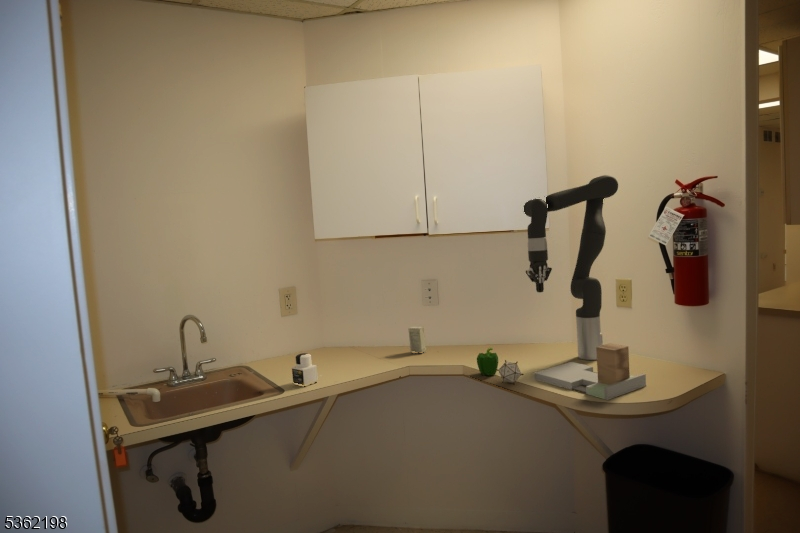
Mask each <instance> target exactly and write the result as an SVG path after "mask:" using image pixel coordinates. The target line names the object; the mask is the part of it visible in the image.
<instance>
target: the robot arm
mask: <svg viewBox="0 0 800 533" xmlns="http://www.w3.org/2000/svg"><path fill="white" fill-rule="evenodd" d="M618 188H619V182H618V180H617V179H616V178H615V177H614V176H612V175H609V174H604V175H600V176H597V177H594V178H592V179H590V181H589V182H588V183H586V184H584V185H580V186H575V187H571V188H568V189H563V190H560V191H557V192H553V193H550V194H548V195H546V196H547V197H546V202H545V201H544V200H542V199H536V198H533V200H532V199H530V200H527V201H528V202H527V201H526V202H525V203H524V204H525V205H523V207H524V211H523V213H524V212H525V213H524V214H526V215H525V216H526V217H530V223H529V224H528V225H527V229H526V230H527V256H528V258H527V259H528V261H529V269H528V270H525V273H526V275H527V277H528V279H529V280H530V281H531V282H532V283H534V284H535V291H536V292H537V293H543V292H544V289H545V288H544V283H545V282H546V281H548V279H549V277H550V274H551V273H552V271H553V268H552V267H549V266H548V262H547V261H548V260H549V254H548V240H547V234H546V233H547V231H546V227H547V226H546V225H547V221H548V220H547V219H548V213H549V212H550V213H551V212H557V211H560V210H563V209H567V208H569V207H572V206H574V205H577V204H580V203H582V202H585V212H584V218H583V224H582V229H581V235H580V240H579V249H578V254H577V259H576V263H575V268H574V271H573V273H572V274H573V275H572V278H571V282H570V294H571V295H572V296H573V297H574V299H577V300H579V299H580V300H582V306H581V307H578V308H577V309H576V310H575V320H576V322H575V323H576V325H575V326H576V343H577V357H578V359H581V360H587V361H588V360H589V361H595V360H596V361H597V351H596V347H598V346H601V345H604V343H603V333H601V310H602V298H603V297H602V284H601V282H600V281H599V279H597V278H595V277H590V272H591V269H592V265H593V264H594V262H595V261H596V259H598V257H599V255H600V253H602V251H603V248H604V246H605V241H606V233H607V232H606V231H607V230H606V225H605V224H606V223H605V221H604V217H603V207H604V203H603V199H604V198H605V199H609V198H612V197H613V196H614V195H615V194H617V191H618ZM605 199H604V200H605ZM547 204H548V208H547Z"/></svg>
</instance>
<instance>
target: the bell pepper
mask: <svg viewBox="0 0 800 533" xmlns="http://www.w3.org/2000/svg"><path fill="white" fill-rule="evenodd" d="M490 351H493V347H488V348H487V350H486V352H485V353H483V352H479V353H478V355H477V357H476V364H477V369H478V370H479V372H480V374H481V375H485V376H494V375H496V373H497V372H498V371H497V369H498V366H499V356H498V354H497V352H490Z"/></svg>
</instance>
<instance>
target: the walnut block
mask: <svg viewBox="0 0 800 533" xmlns="http://www.w3.org/2000/svg"><path fill="white" fill-rule="evenodd" d="M596 351H597V360H596V367H597V368H596V369H597V373H598V382H599V383H603V384H607V385H611V384H614V383H617V382H620V381H623V380H626V379H628V378H630V375H631V374H630V372H631V371H630V355H629V354H630V352H629V346H628V345H623V344H617V343H613V342H612V343H610V342H608V343H606V344H603V345H601V346H598V347H596Z"/></svg>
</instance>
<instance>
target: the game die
mask: <svg viewBox="0 0 800 533" xmlns="http://www.w3.org/2000/svg"><path fill="white" fill-rule="evenodd" d="M518 362H519V361H518V360H517V361H516V362H509V361H507V360H506V359H504V363H503V364H502V365H501V367H499V369H498V368H497V371H496V372H498V373H499V375H500V377H501V380H502V381H501V383H502V384H503V383H504V382H506V383H511V384H513V385H514V386H515V385H516V384H515V383H516V381H517V380H519V378H520V376H524V373H521V370H520V367H519V366H518Z"/></svg>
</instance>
